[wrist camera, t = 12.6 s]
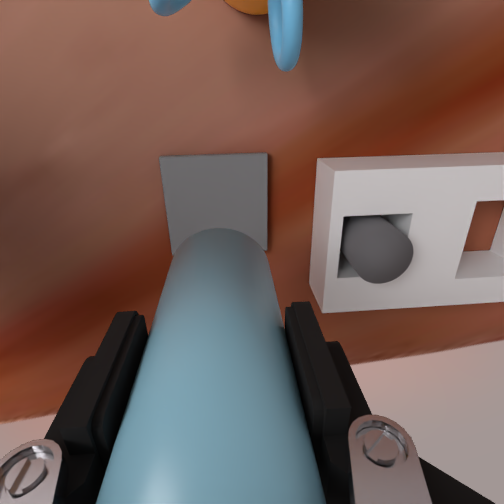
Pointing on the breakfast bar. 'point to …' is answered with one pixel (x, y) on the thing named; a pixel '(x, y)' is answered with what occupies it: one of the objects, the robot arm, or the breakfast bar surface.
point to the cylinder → (280, 23)
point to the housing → (408, 229)
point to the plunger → (375, 248)
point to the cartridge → (215, 390)
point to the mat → (215, 194)
